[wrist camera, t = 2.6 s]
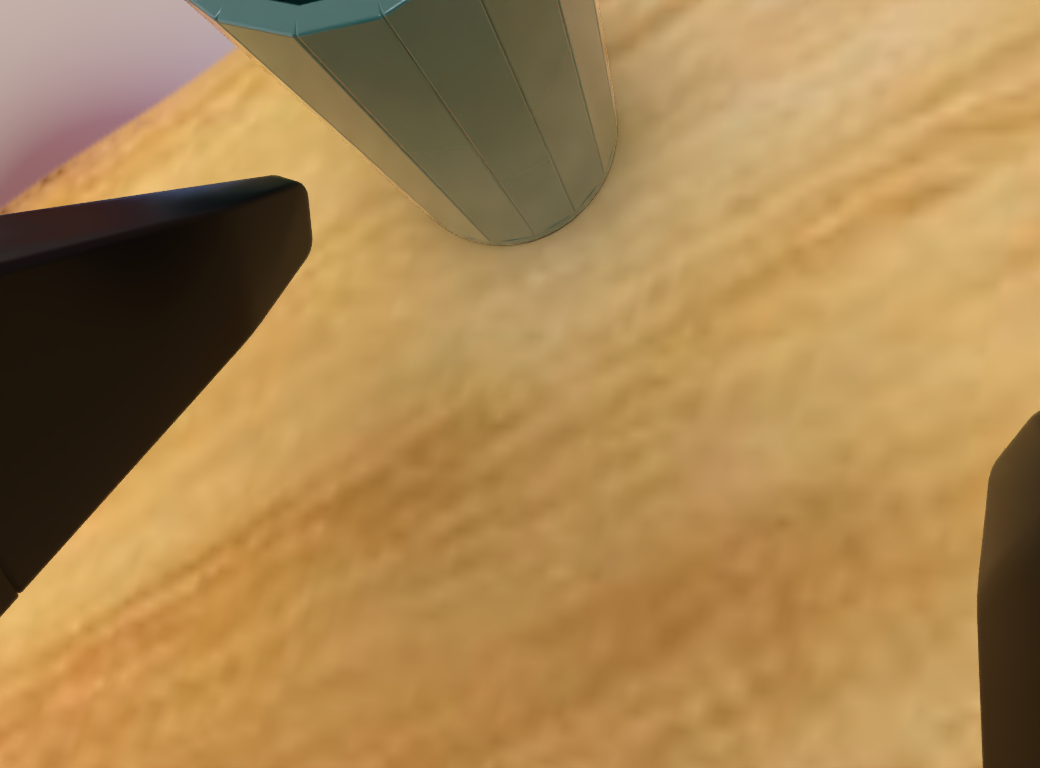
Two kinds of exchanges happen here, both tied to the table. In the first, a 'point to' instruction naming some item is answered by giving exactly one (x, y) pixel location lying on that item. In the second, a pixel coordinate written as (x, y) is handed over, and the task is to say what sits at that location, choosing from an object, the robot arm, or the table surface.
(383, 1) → the green cup
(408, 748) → the table surface
